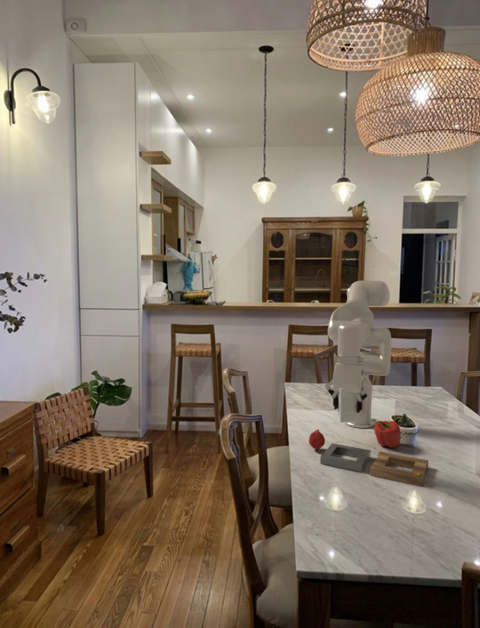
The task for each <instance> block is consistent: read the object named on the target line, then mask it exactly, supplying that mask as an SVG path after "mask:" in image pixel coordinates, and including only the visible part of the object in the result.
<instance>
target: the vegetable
mask: <svg viewBox="0 0 480 628" xmlns="http://www.w3.org/2000/svg"><path fill="white" fill-rule="evenodd" d="M374 422H375V425H374V426H373V428H374V435H375V437H376V441H377V442H378V444H379V445H380V446H382V447H388V448H397V447H398V446H399V445H400V444H401V439H402V433H401V432H402V431H401V428H400V425H399V424H398V423H397V422H396V421H393V420H391V421H389V420H388V421H387V420H383V421H382V420H377V421H374Z"/></svg>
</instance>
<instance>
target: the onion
mask: <svg viewBox="0 0 480 628" xmlns="http://www.w3.org/2000/svg"><path fill="white" fill-rule="evenodd" d="M308 443H309V445H310V446H311V447H312V449H314V450H316V451H318V450H320V449H321V448H322V447H324V445H325V443H326V438H325V436H324V435H323V433H322V432H320V429H319V428H316V429H315V430H314V431H313V432H311V434H309V437H308Z"/></svg>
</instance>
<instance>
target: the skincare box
mask: <svg viewBox="0 0 480 628" xmlns="http://www.w3.org/2000/svg"><path fill="white" fill-rule="evenodd" d="M357 401H358V399H357V397H356V395H355V394H351V393H348V392H347V389H345V388H340V391H339V392H338V408H337V420H338V421H339V422H340V423H345V422H357V412H356V411H357Z"/></svg>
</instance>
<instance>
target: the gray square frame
mask: <svg viewBox="0 0 480 628" xmlns="http://www.w3.org/2000/svg"><path fill="white" fill-rule="evenodd" d="M371 452H372V451H371V449H366V448H365V449H364V448H361V447H356V446H355V447H354V446H349V445H344V444H338V443H334V442H333V443H331V444H330V445H329V447H327V448H326V450H324V452H323V453H322V455H321V456H320V463H319V464H321V465H324V466H328V467H329V466H330V467H334V468H338V469H344V470H348V471H354V472H358V473H362V472H363V471H364V469H365V467H366V465H367V463H368V462H369V460H370V459H371V455H372V453H371ZM337 454H338V455H343V456H344V455H345V456H349V457H353V458H356V459H349V458H345V457H340V456H339V457H338V456H336V455H337Z"/></svg>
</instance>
